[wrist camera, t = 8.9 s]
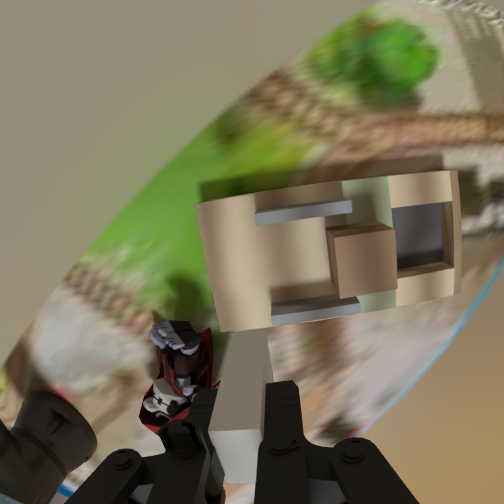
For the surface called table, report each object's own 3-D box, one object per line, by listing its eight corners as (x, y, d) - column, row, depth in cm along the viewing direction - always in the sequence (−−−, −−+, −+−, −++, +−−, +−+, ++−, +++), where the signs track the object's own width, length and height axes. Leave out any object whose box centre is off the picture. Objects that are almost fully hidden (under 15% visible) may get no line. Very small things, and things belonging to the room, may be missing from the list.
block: (330, 279, 30) (340, 298, 25) (324, 227, 29) (334, 238, 24) (380, 271, 30) (397, 289, 25) (376, 220, 28) (394, 229, 24)
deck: (225, 319, 35) (215, 346, 29) (202, 201, 32) (185, 207, 27) (448, 284, 32) (474, 302, 26) (443, 170, 29) (472, 170, 24)
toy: (166, 379, 23) (160, 472, 28) (263, 358, 29) (233, 450, 33) (125, 302, 32) (125, 399, 37) (203, 296, 37) (188, 387, 42)
